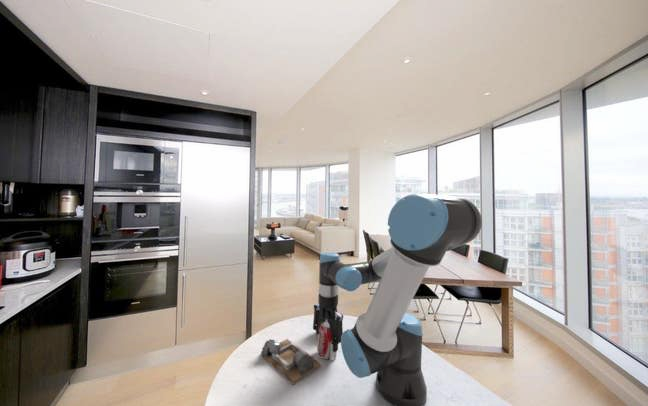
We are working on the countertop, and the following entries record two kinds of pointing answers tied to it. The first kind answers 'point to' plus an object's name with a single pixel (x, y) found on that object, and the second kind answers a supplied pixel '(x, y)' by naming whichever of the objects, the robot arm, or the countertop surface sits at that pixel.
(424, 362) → the countertop surface
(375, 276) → the robot arm
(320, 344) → the beverage can
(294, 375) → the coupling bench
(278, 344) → the shaft
